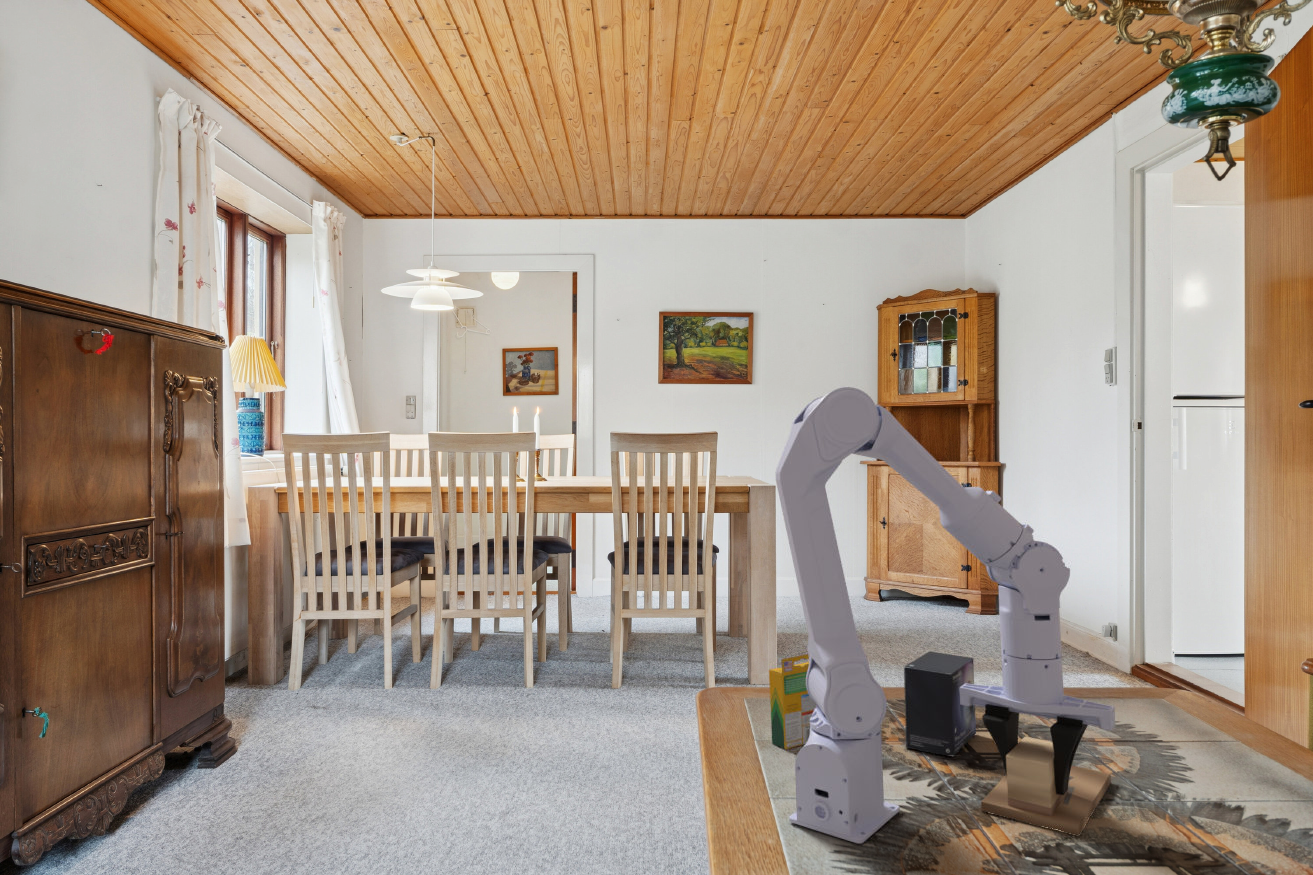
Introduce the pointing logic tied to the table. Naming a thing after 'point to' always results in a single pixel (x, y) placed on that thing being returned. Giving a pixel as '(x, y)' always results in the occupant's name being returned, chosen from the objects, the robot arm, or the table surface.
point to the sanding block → (1032, 777)
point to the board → (1070, 812)
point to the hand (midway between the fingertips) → (1037, 785)
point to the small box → (938, 703)
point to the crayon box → (790, 703)
